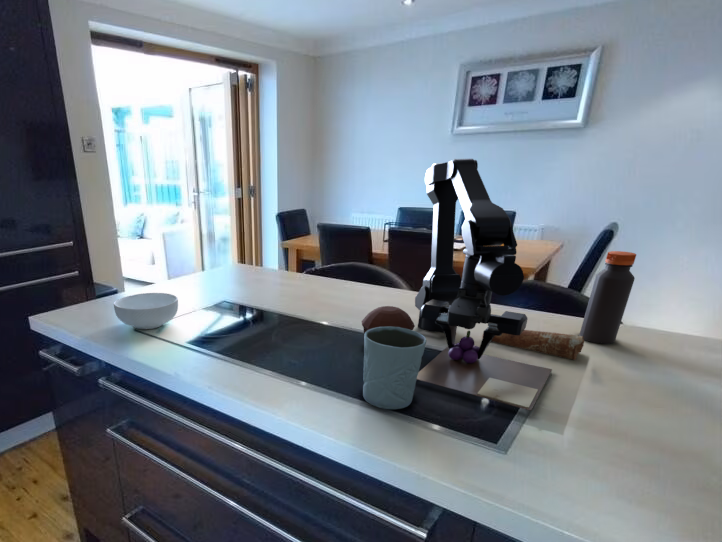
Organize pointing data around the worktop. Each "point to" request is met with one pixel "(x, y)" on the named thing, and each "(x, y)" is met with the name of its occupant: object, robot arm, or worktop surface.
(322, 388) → the worktop surface
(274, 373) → the worktop surface
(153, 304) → the cereal bowl
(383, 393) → the grey green cup
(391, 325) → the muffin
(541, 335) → the bread
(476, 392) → the serving board
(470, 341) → the grapes
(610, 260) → the bottle
